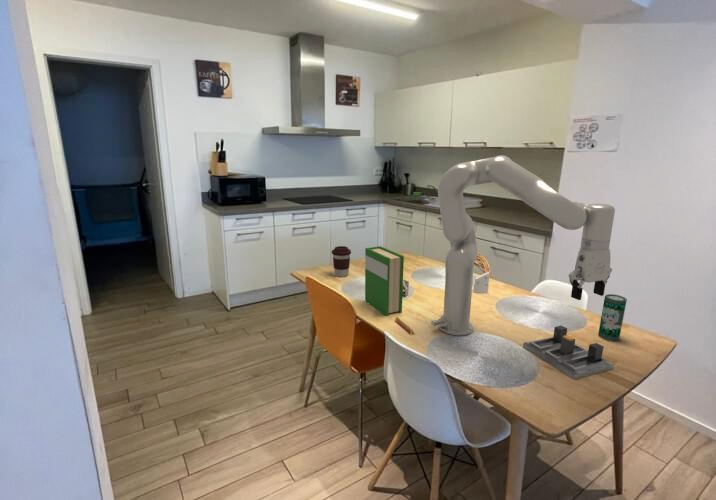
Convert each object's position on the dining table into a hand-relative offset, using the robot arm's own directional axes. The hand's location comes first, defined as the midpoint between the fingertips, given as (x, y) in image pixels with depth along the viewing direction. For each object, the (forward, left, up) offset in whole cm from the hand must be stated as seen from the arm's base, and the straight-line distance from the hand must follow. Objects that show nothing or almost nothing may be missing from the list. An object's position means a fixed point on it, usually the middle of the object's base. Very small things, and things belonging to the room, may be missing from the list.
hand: (587, 296), depth 123 cm
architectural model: (-32, +66, -20) cm, 75 cm away
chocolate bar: (-46, +35, -20) cm, 62 cm away
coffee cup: (-49, +102, -19) cm, 115 cm away
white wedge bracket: (+4, +56, -19) cm, 60 cm away
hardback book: (-46, +56, -19) cm, 75 cm away
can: (+18, +3, -19) cm, 27 cm away
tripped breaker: (-8, -2, -17) cm, 19 cm away
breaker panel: (-8, -2, -19) cm, 21 cm away
